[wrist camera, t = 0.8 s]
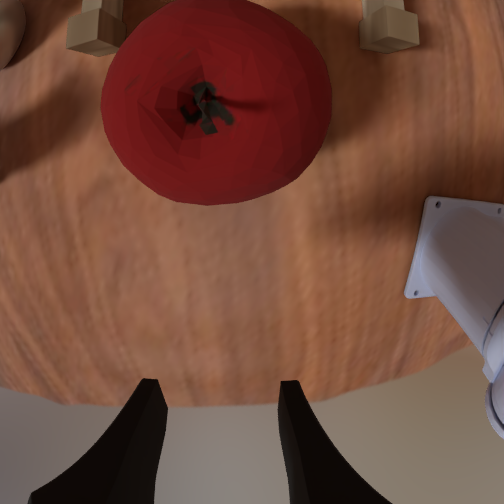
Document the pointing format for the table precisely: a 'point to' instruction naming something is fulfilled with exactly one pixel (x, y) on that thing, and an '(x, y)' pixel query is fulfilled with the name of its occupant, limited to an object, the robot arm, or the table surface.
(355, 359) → the table surface
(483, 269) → the robot arm
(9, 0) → the plastic bottle
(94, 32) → the corral
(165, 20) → the apple
